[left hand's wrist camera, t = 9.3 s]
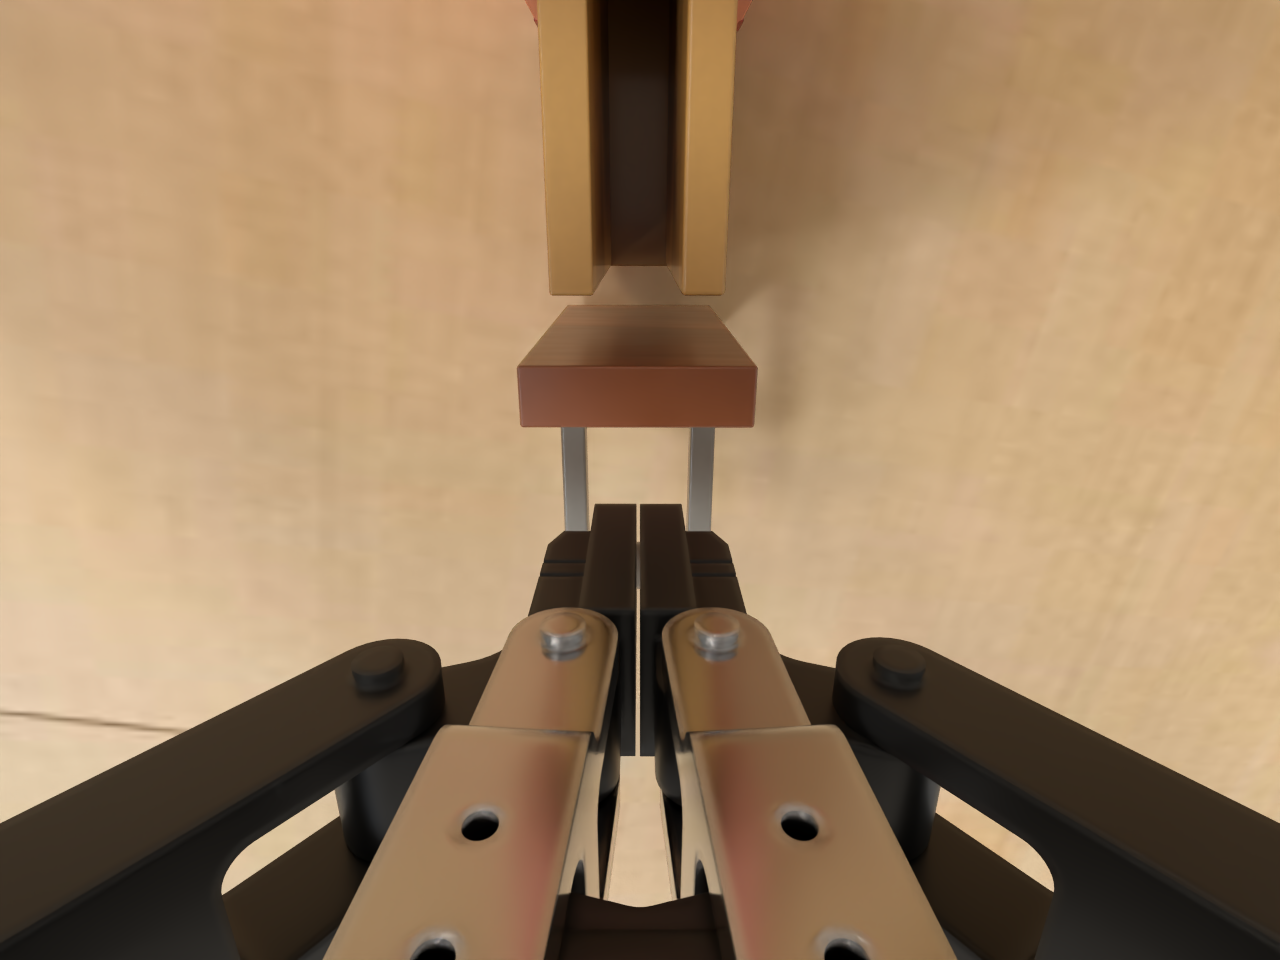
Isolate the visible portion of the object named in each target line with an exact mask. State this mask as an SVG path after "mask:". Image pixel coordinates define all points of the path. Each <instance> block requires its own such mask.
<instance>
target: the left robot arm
mask: <svg viewBox="0 0 1280 960" xmlns="http://www.w3.org/2000/svg"><path fill="white" fill-rule="evenodd" d="M636 619H637V554H636V504H595V506H594V513H593V519H592V525H591V531H564V532H562V533H561V534H560V535H559V536H558V537H557V538H555V539H554V540H553V541H552V542H551V543H549V544H548V547H547V551H546V554H545V558H544V563H543V565H542V568H541V572H540V577H539V579H538V583H537V586H536V590H535V593H534V597H533V600H532V604H531V607H530V611H529V615H528V617H526V618H525V619H523V620H522V621H520V622H519V623H518V624H517V625H516V626H515V627H514V628H513V629H512V631H511V632H510V634H509V636H508V638H507V641H506V643H505V645H504V647H503V650H502V651H500V652H498V653H496V654H493V655H491V656H488V657H486V658H483V659H479V660H475V661H471V662H467V663H462V664H457V665H452V666H447V667H441V659H440V657H439V654H438V653H437V652H436V650H435V649H433V648H432V647H431V646H429V645H427V644H425V643H423V642H419V641H416V640H409V639H387V640H380V641H375V642H371V643H367V644H364V645H361V646H358V647H355V648H353V649H351V650H349V651H346V652H344V653H342V654H340V655H338V656H336V657H334V658H332V659H330V660H328V661H326V662H324V663H322V664H320V665H318V666H316V667H314V668H312V669H310V670H308V671H306V672H304V673H302V674H300V675H298V676H296V677H294V678H292V679H290V680H288V681H286V682H284V683H282V684H280V685H278V686H276V687H274V688H272V689H270V690H268V691H266V692H264V693H262V694H260V695H258V696H256V697H254V698H252V699H250V700H248V701H246V702H244V703H242V704H240V705H238V706H236V707H234V708H232V709H230V710H228V711H226V712H224V713H222V714H220V715H218V716H216V717H214V718H212V719H210V720H207V721H205V722H203V723H201V724H199V725H197V726H195V727H193V728H191V729H189V730H187V731H185V732H183V733H181V734H179V735H177V736H175V737H173V738H171V739H169V740H167V741H165V742H163V743H161V744H159V745H157V746H155V747H153V748H151V749H149V750H147V751H145V752H143V753H141V754H139V755H137V756H135V757H133V758H131V759H129V760H127V761H125V762H123V763H121V764H119V765H117V766H115V767H113V768H111V769H109V770H107V771H105V772H103V773H101V774H99V775H97V776H95V777H93V778H91V779H89V780H87V781H85V782H83V783H81V784H79V785H77V786H75V787H73V788H71V789H69V790H67V791H65V792H63V793H61V794H59V795H57V796H55V797H52V798H50V799H48V800H46V801H44V802H42V803H40V804H38V805H36V806H34V807H32V808H30V809H28V810H26V811H24V812H22V813H20V814H18V815H16V816H14V817H12V818H10V819H8V820H6V821H4V822H2V823H0V960H1280V823H1278V822H1276V821H1274V820H1272V819H1270V818H1268V817H1266V816H1264V815H1262V814H1260V813H1258V812H1256V811H1254V810H1252V809H1250V808H1248V807H1246V806H1244V805H1242V804H1240V803H1238V802H1236V801H1234V800H1232V799H1229V798H1227V797H1225V796H1223V795H1221V794H1219V793H1217V792H1215V791H1213V790H1211V789H1209V788H1207V787H1205V786H1203V785H1201V784H1199V783H1197V782H1195V781H1193V780H1191V779H1189V778H1187V777H1185V776H1183V775H1181V774H1179V773H1177V772H1175V771H1173V770H1171V769H1169V768H1167V767H1165V766H1163V765H1161V764H1159V763H1157V762H1155V761H1153V760H1151V759H1149V758H1147V757H1145V756H1143V755H1141V754H1139V753H1137V752H1135V751H1133V750H1131V749H1129V748H1127V747H1125V746H1123V745H1121V744H1119V743H1117V742H1115V741H1113V740H1111V739H1109V738H1107V737H1105V736H1103V735H1101V734H1099V733H1097V732H1095V731H1093V730H1091V729H1089V728H1087V727H1085V726H1083V725H1081V724H1079V723H1077V722H1074V721H1072V720H1070V719H1068V718H1066V717H1064V716H1062V715H1060V714H1058V713H1056V712H1054V711H1052V710H1050V709H1048V708H1046V707H1044V706H1042V705H1040V704H1038V703H1036V702H1034V701H1032V700H1030V699H1028V698H1026V697H1024V696H1022V695H1020V694H1018V693H1016V692H1014V691H1012V690H1010V689H1008V688H1006V687H1004V686H1002V685H1000V684H998V683H996V682H994V681H992V680H990V679H988V678H986V677H984V676H982V675H980V674H978V673H976V672H974V671H972V670H970V669H968V668H966V667H964V666H962V665H960V664H958V663H956V662H954V661H952V660H950V659H948V658H946V657H944V656H942V655H940V654H938V653H936V652H934V651H932V650H930V649H927V648H925V647H923V646H920V645H917V644H915V643H912V642H908V641H904V640H899V639H893V638H882V637H878V638H865V639H860V640H857V641H854V642H852V643H849V644H847V645H846V646H845V647H843V648H842V649H841V651H840V652H839V654H838V656H837V661H836V668H832V667H827V666H822V665H817V664H812V663H807V662H803V661H799V660H795V659H792V658H789V657H786V656H783V655H781V654H779V652H778V650H777V647H776V645H775V643H774V641H773V638H772V636H771V634H770V632H769V631H768V629H767V628H766V627H765V626H764V625H763V624H762V623H761V622H760V621H758V620H757V619H755V618H754V617H752V616H750V615H747V613H746V609H745V606H744V602H743V598H742V595H741V591H740V587H739V583H738V580H737V577H736V572H735V569H734V565H733V563H732V558H731V554H730V550H729V546H728V544H727V543H725V542H724V541H723V540H722V539H721V538H720V537H718V536H717V535H716V534H715V533H714V532H713V531H685V525H684V518H683V511H682V505H681V504H640V756H655V774H656V780H657V782H658V785H659V787H660V811H661V819H662V826H663V834H664V842H665V850H666V858H667V865H668V873H669V881H670V889H671V897H672V901H669V902H665V903H661V904H657V905H653V906H648V907H632V906H627V905H623V904H619V903H615V902H611V901H608V897H609V889H610V881H611V873H612V865H613V858H614V850H615V842H616V834H617V826H618V819H619V811H620V756H635V733H636ZM940 786H941V787H942V788H944V789H946V790H947V791H949V792H950V793H952V794H953V795H955V796H956V797H958V798H959V799H961V800H963V801H964V802H966V803H967V804H969V805H970V806H972V807H973V808H975V809H976V810H978V811H980V812H981V813H983V814H984V815H986V816H987V817H989V818H990V819H992V820H994V821H995V822H997V823H998V824H1000V825H1001V826H1003V827H1004V828H1006V829H1007V830H1009V831H1011V832H1012V833H1014V834H1015V835H1017V836H1018V837H1020V838H1021V839H1023V840H1024V841H1025V842H1027V843H1028V844H1029V845H1030V846H1031V847H1033V848H1034V849H1035V850H1036V851H1037V853H1038V854H1039V855H1040V856H1041V857H1042V859H1043V860H1044V861H1045V863H1046V864H1047V866H1048V868H1049V870H1050V872H1051V874H1052V877H1053V881H1054V892H1052V891H1050V890H1049V889H1047V888H1046V887H1044V886H1043V885H1041V884H1040V883H1038V882H1037V881H1035V880H1034V879H1032V878H1031V877H1030V876H1028V875H1027V874H1025V873H1024V872H1022V871H1021V870H1019V869H1018V868H1016V867H1015V866H1013V865H1012V864H1010V863H1009V862H1007V861H1006V860H1005V859H1003V858H1002V857H1000V856H999V855H997V854H996V853H994V852H993V851H991V850H990V849H988V848H987V847H985V846H984V845H982V844H981V843H980V842H978V841H977V840H975V839H974V838H972V837H971V836H969V835H968V834H966V833H965V832H963V831H962V830H960V829H959V828H957V827H956V826H955V825H953V824H952V823H950V822H949V821H947V820H946V819H944V818H943V817H941V816H940V815H938V814H937V813H935V811H936V806H937V801H938V796H939V791H940ZM334 789H335V794H336V799H337V804H338V809H339V814H340V816H339V817H337V818H336V819H334V820H333V821H331V822H330V823H328V824H327V825H325V826H324V827H323V828H321V829H320V830H318V831H317V832H315V833H314V834H312V835H311V836H309V837H308V838H306V839H305V840H303V841H302V842H300V843H299V844H298V845H296V846H295V847H293V848H292V849H290V850H289V851H287V852H286V853H284V854H283V855H281V856H280V857H278V858H277V859H275V860H274V861H273V862H271V863H270V864H268V865H267V866H265V867H264V868H262V869H261V870H259V871H258V872H256V873H255V874H253V875H252V876H250V877H249V878H248V879H246V880H245V881H243V882H242V883H240V884H239V885H237V886H236V887H234V888H233V889H231V890H230V891H228V892H227V893H225V894H223V895H222V894H221V887H222V882H223V879H224V876H225V874H226V872H227V870H228V868H229V867H230V865H231V864H232V862H233V861H234V860H235V858H236V857H237V856H238V855H239V854H240V853H241V852H242V851H243V850H244V849H245V848H246V847H247V846H249V845H250V844H251V843H253V842H254V841H255V840H257V839H259V838H260V837H262V836H263V835H265V834H266V833H268V832H269V831H271V830H273V829H274V828H276V827H277V826H279V825H280V824H282V823H283V822H285V821H286V820H288V819H290V818H291V817H293V816H294V815H296V814H297V813H299V812H300V811H302V810H303V809H305V808H307V807H308V806H310V805H311V804H313V803H314V802H316V801H317V800H319V799H320V798H322V797H324V796H325V795H327V794H328V793H330V792H331V791H333V790H334Z"/></svg>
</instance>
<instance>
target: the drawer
mask: <svg viewBox="0 0 1280 960" xmlns="http://www.w3.org/2000/svg"><path fill="white" fill-rule="evenodd" d="M737 7H738V0H537V15H538V38H539V61H540V84H541V107H542V130H543V153H544V176H545V199H546V222H547V245H548V268H549V291H550V295H587V296H591V295H593V293H594V292H595V290H596V288H597V287H598V285H599V284H600V282H601V280H602V279H603V277H604V275H605V274H606V272H607V271H608V269H609V267H610V266H667V267H668V268H669V270H670V272H671V274H672V276H673V278H674V279H675V281H676V283H677V285H678V287H679V288H680V290H681V292H682V294H684V295H706V296H720V295H722V294H724V292H725V280H726V257H727V234H728V212H729V189H730V166H731V143H732V121H733V98H734V75H735V52H736V30H737ZM757 372H758V368H757V366H756V365H755V363H754V362H753V361H752V360H751V358H750V357H749V356H748V355H747V353H746V352H745V351H744V349H743V348H742V347H741V346H740V344H739V343H738V342H737V340H736V339H735V338H734V337H733V335H732V334H731V333H730V331H729V330H728V329H727V328H726V326H725V325H724V324H723V322H722V321H721V320H720V319H719V317H718V316H717V315H716V314H715V312H714V311H713V310H712V308H711V307H710V306H708V305H568V306H567V307H566V308H565V309H564V311H563V312H562V313H561V314H560V315H559V317H558V318H557V319H556V320H555V322H554V323H553V324H552V325H551V326H550V328H549V329H548V330H547V331H546V332H545V334H544V335H543V336H542V337H541V339H540V340H539V341H538V342H537V343H536V345H535V346H534V347H533V348H532V349H531V351H530V352H529V353H528V354H527V355H526V357H525V358H524V359H523V360H522V362H521V363H520V364H519V365H518V367H517V378H518V394H519V410H520V425H521V426H522V427H561V442H562V466H563V491H564V516H565V531H589V495H588V458H587V427H689V452H688V487H687V523H686V531H711V511H712V487H713V463H714V439H715V428H751V427H753V426H754V420H755V404H756V388H757ZM636 554H637V589H640V542H636Z"/></svg>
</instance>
